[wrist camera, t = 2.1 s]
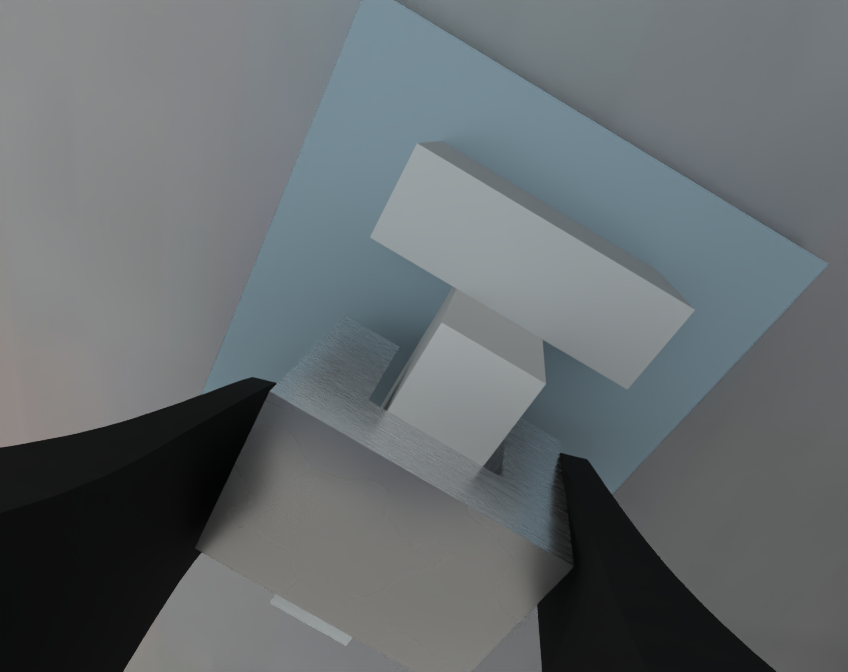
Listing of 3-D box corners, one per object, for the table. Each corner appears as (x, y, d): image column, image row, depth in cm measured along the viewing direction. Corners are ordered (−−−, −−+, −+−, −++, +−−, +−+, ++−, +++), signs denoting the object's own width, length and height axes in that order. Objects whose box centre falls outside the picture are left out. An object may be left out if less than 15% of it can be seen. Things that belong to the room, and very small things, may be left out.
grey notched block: (559, 440, 12) (573, 566, 8) (469, 549, 13) (450, 692, 10) (345, 315, 11) (269, 391, 8) (280, 440, 13) (194, 548, 10)
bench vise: (802, 252, 13) (1026, 349, 7) (471, 617, 19) (448, 821, 13) (381, -3, 12) (259, -119, 7) (189, 456, 19) (43, 596, 13)
